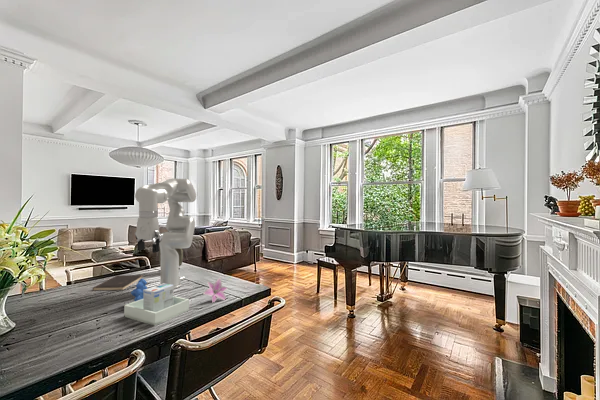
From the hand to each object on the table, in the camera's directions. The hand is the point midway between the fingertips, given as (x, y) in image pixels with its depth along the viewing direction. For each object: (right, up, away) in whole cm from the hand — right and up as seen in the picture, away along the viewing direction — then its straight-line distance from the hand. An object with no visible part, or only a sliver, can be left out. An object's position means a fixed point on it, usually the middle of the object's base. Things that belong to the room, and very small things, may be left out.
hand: (148, 251), depth 128 cm
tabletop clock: (-18, -26, +60) cm, 68 cm away
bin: (+8, -26, -7) cm, 29 cm away
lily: (+29, -27, +10) cm, 41 cm away
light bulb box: (+9, -26, -7) cm, 28 cm away
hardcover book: (-36, -26, +33) cm, 55 cm away
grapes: (-6, -26, +2) cm, 27 cm away
